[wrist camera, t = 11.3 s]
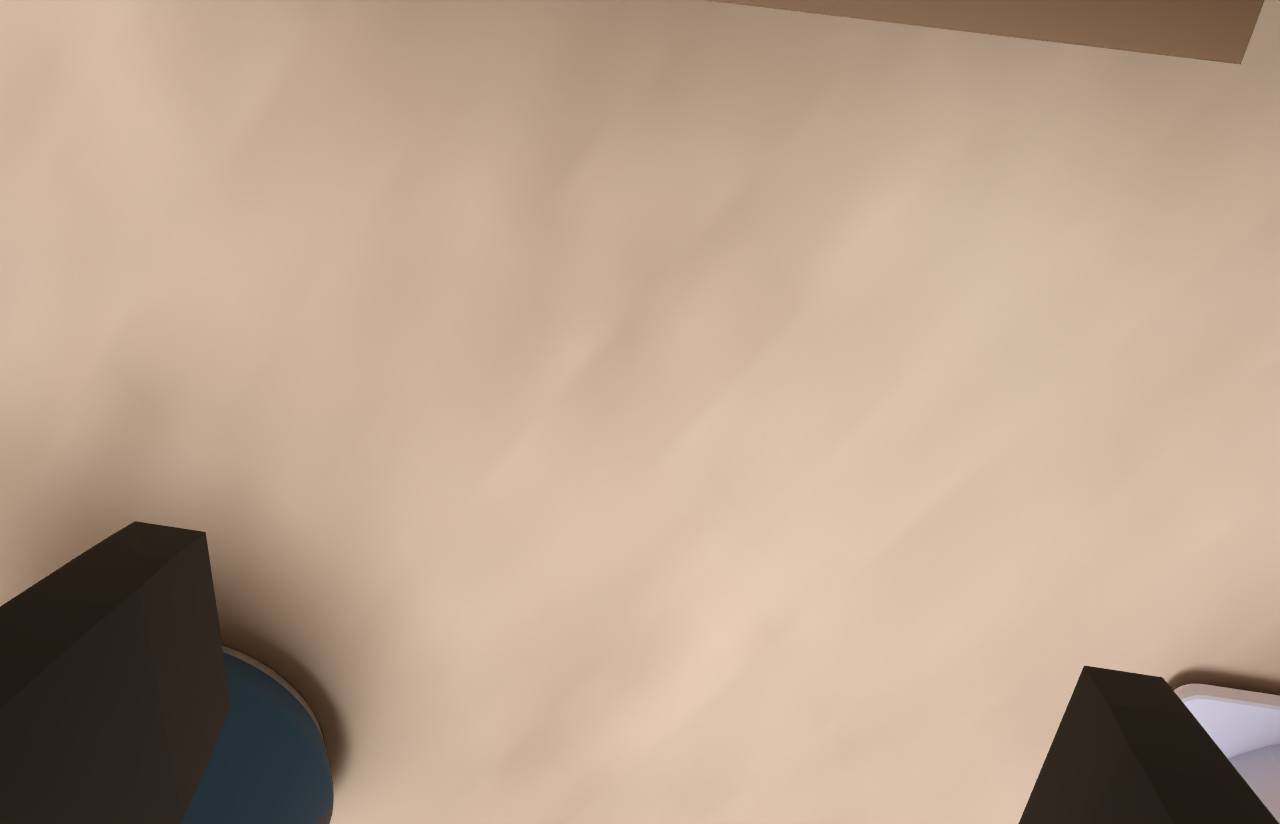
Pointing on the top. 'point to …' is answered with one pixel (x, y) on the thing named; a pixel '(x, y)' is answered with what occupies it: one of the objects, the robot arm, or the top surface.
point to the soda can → (264, 755)
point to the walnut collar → (1069, 21)
